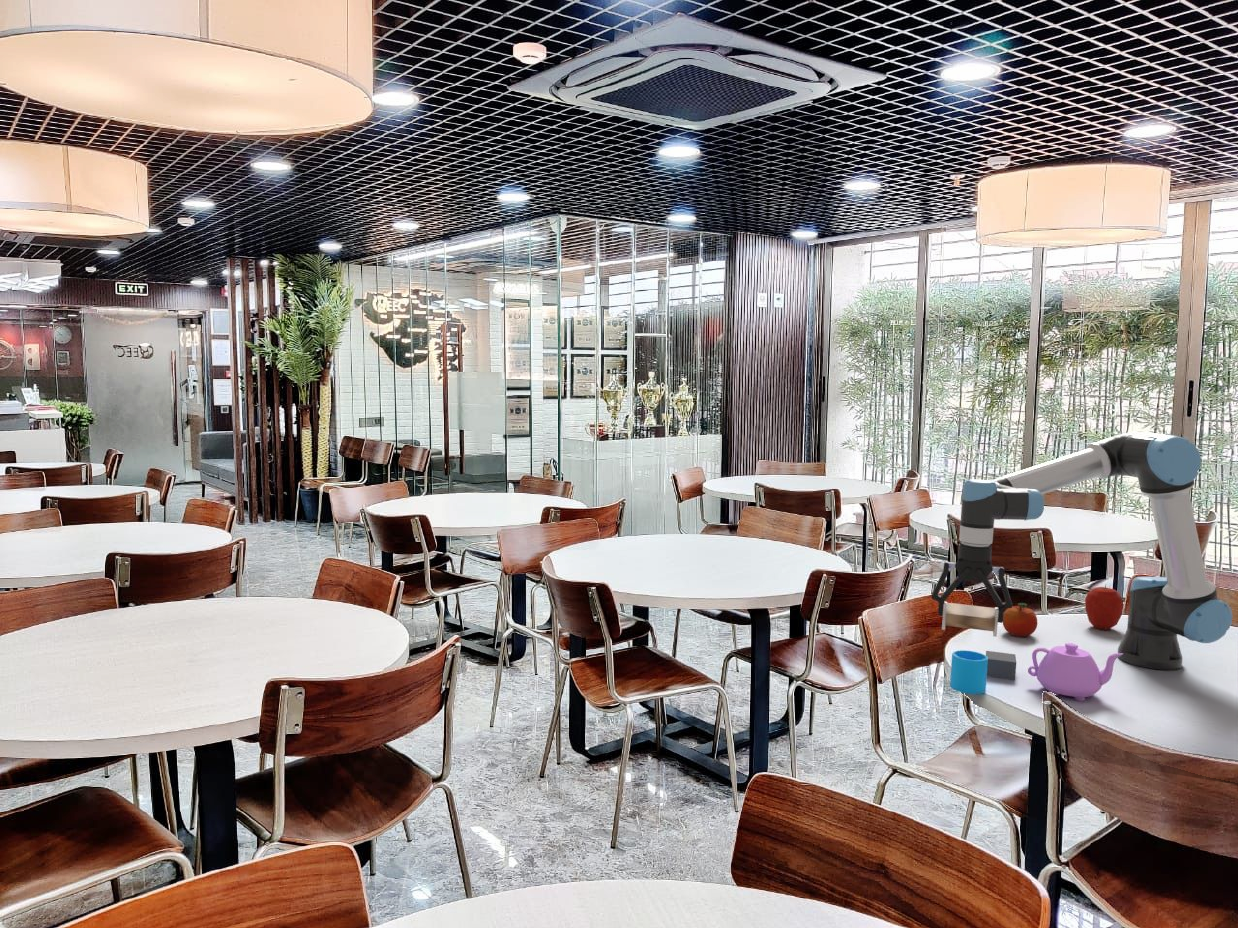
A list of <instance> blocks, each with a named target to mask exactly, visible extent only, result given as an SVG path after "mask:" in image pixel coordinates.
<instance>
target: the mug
mask: <svg viewBox="0 0 1238 928" xmlns="http://www.w3.org/2000/svg"><path fill="white" fill-rule="evenodd" d="M950 665H951V666H950V680H949V686H950V688H951V689H953V690H955V691H957V692H960V693H965V694H969V695H978V694H979V695H980V694H983V693H984V694H985V692H986V689H987V677H988V676H987V665H988V657H987V656H986V654H984V653H982V652H977V651H975V650H974V651H973V650H964V649H963V650H961V649H960V650H954V651H953V652H952V653H951V663H950Z"/></svg>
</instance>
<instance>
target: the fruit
mask: <svg viewBox="0 0 1238 928" xmlns="http://www.w3.org/2000/svg"><path fill="white" fill-rule="evenodd" d="M1027 605H1028V604H1027V603H1024V602H1019V603H1017V605H1014V606H1013V605H1012V608H1008V609H1005V610H1004V614H1003V622H1002V626H1003V628H1004V630H1005V631H1006V632H1007V633H1009V634H1010V635H1012V636H1014V637H1021V638H1023V637H1024V638H1027V637H1029V636H1031V635H1033V633H1035V631H1036V629H1037V628H1038V618H1037V614H1036V613H1035V612H1034V610H1033V609H1031V608H1028V607H1027Z"/></svg>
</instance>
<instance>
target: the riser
mask: <svg viewBox="0 0 1238 928" xmlns="http://www.w3.org/2000/svg"><path fill="white" fill-rule="evenodd" d="M985 655H986V656H987V657H988V665H987V677H990V678H991V677H992V678H999V679H1000V678H1001V679H1007V680H1013V681H1015V680H1016V674H1017V673H1016V672H1017V657H1016V654H1015V653H1009V652H999V651H992V650H991V651H990V650H985Z"/></svg>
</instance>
